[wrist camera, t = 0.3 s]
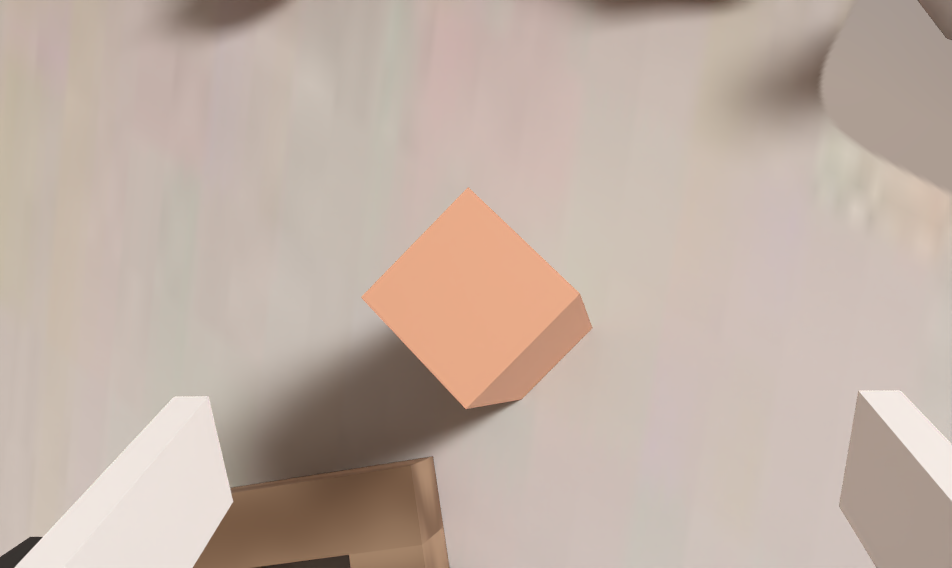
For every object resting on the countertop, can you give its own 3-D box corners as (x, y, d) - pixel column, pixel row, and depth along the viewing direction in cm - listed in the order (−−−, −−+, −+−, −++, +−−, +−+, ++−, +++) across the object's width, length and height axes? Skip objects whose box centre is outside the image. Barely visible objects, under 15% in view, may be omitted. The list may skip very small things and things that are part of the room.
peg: (592, 327, 31) (580, 293, 19) (521, 399, 31) (465, 409, 19) (521, 259, 32) (468, 187, 20) (453, 328, 32) (361, 297, 20)
